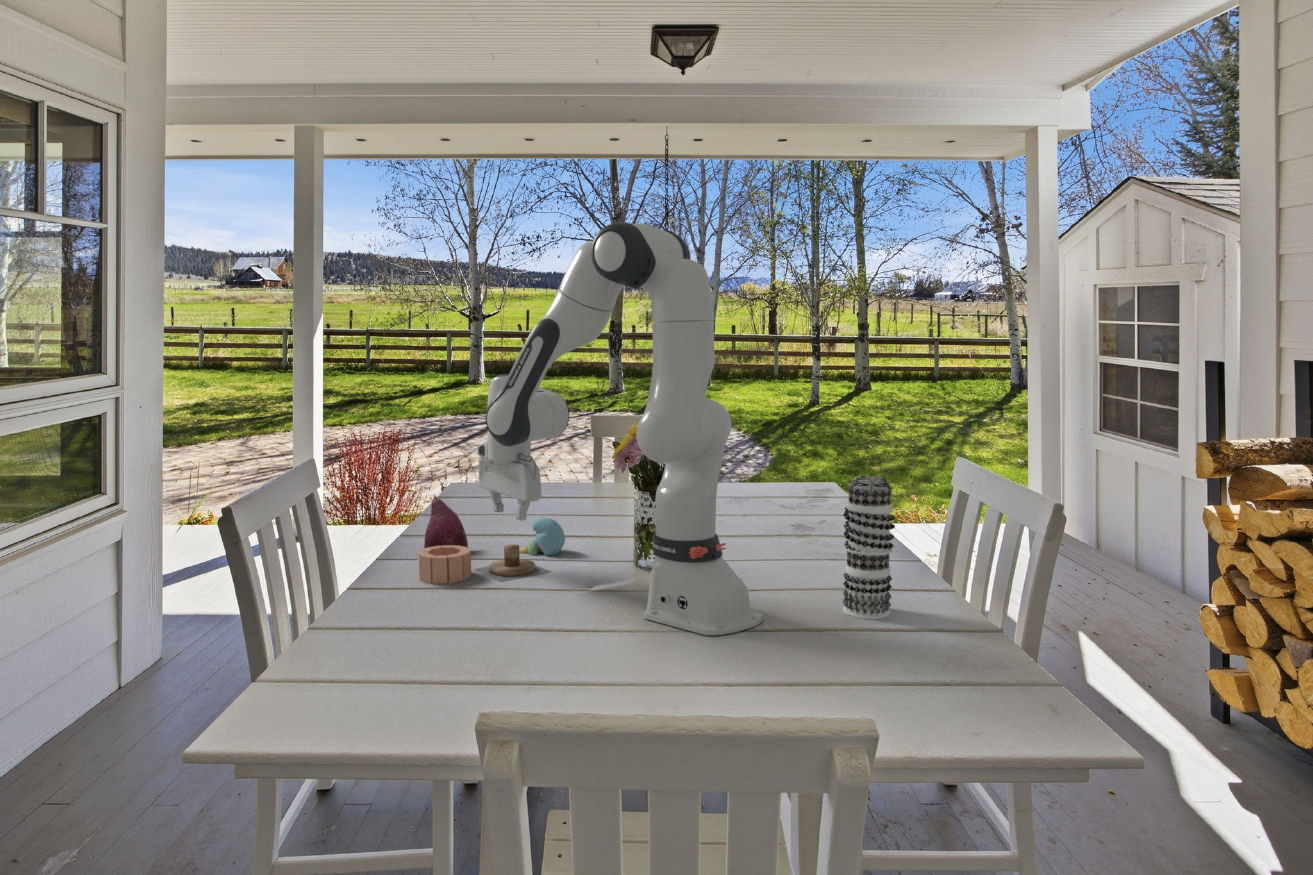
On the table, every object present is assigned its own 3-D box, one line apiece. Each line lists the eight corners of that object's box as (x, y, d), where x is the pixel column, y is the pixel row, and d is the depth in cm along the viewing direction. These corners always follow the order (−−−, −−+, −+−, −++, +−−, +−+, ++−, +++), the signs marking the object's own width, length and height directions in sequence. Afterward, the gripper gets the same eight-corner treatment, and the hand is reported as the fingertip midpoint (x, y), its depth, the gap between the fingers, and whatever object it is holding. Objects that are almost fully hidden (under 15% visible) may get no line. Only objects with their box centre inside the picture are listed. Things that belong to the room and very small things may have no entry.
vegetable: (418, 569, 205) (397, 507, 203) (448, 553, 213) (428, 494, 212) (451, 564, 199) (430, 500, 198) (480, 548, 208) (460, 487, 206)
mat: (551, 575, 188) (551, 571, 188) (501, 585, 180) (501, 581, 180) (522, 563, 197) (522, 560, 197) (473, 572, 190) (473, 569, 190)
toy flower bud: (513, 517, 207) (564, 514, 206) (516, 554, 208) (567, 551, 207) (506, 524, 200) (560, 520, 199) (510, 562, 201) (563, 559, 200)
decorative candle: (831, 613, 163) (835, 478, 160) (854, 601, 170) (858, 472, 167) (878, 623, 158) (883, 484, 154) (900, 610, 165) (904, 477, 162)
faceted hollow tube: (480, 580, 184) (479, 552, 183) (431, 590, 177) (430, 560, 176) (457, 569, 192) (456, 542, 191) (409, 578, 185) (408, 550, 184)
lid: (543, 571, 188) (543, 547, 187) (503, 579, 182) (502, 554, 181) (520, 562, 195) (519, 538, 195) (480, 569, 189) (480, 545, 189)
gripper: (549, 455, 180) (548, 523, 181) (499, 444, 195) (499, 505, 197) (521, 458, 176) (521, 527, 178) (472, 446, 191) (473, 509, 193)
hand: (509, 515), depth 187 cm, fingers open, 8 cm apart
